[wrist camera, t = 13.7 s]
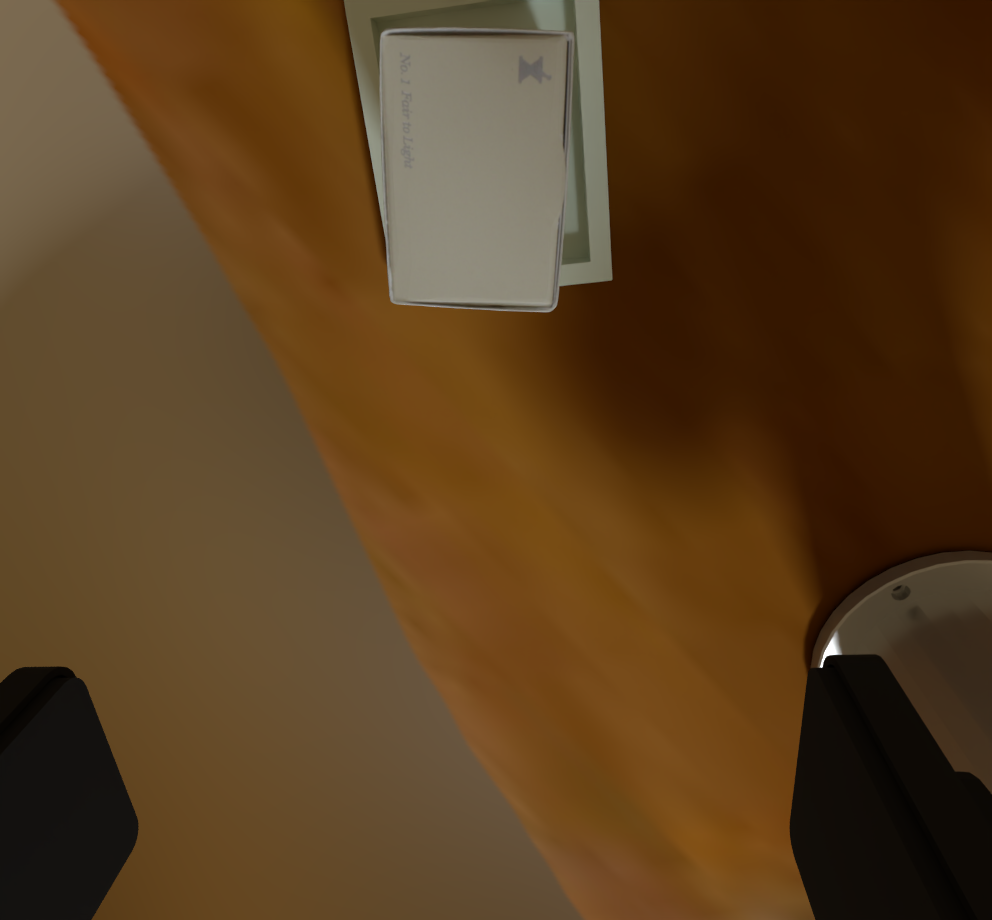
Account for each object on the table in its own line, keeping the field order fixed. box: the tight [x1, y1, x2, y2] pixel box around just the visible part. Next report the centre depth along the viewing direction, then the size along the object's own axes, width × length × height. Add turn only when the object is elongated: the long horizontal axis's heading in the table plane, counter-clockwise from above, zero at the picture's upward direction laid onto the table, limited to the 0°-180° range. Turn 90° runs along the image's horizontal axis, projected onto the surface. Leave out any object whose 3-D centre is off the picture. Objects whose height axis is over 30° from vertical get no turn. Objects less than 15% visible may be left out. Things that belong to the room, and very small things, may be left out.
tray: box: [344, 0, 612, 286], centre depth 27 cm, size 9×11×2 cm
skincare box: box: [379, 27, 575, 312], centre depth 22 cm, size 6×4×12 cm
